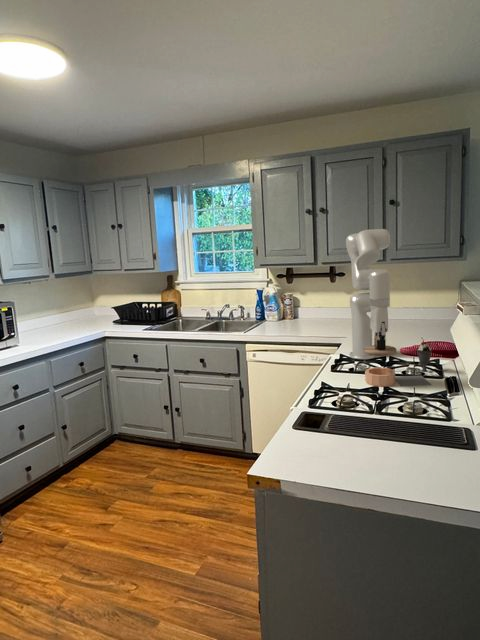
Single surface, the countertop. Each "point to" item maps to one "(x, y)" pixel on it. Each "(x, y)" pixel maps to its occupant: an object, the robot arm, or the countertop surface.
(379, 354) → the lid
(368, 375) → the bowl
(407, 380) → the mat
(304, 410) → the countertop surface
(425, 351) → the sundae
